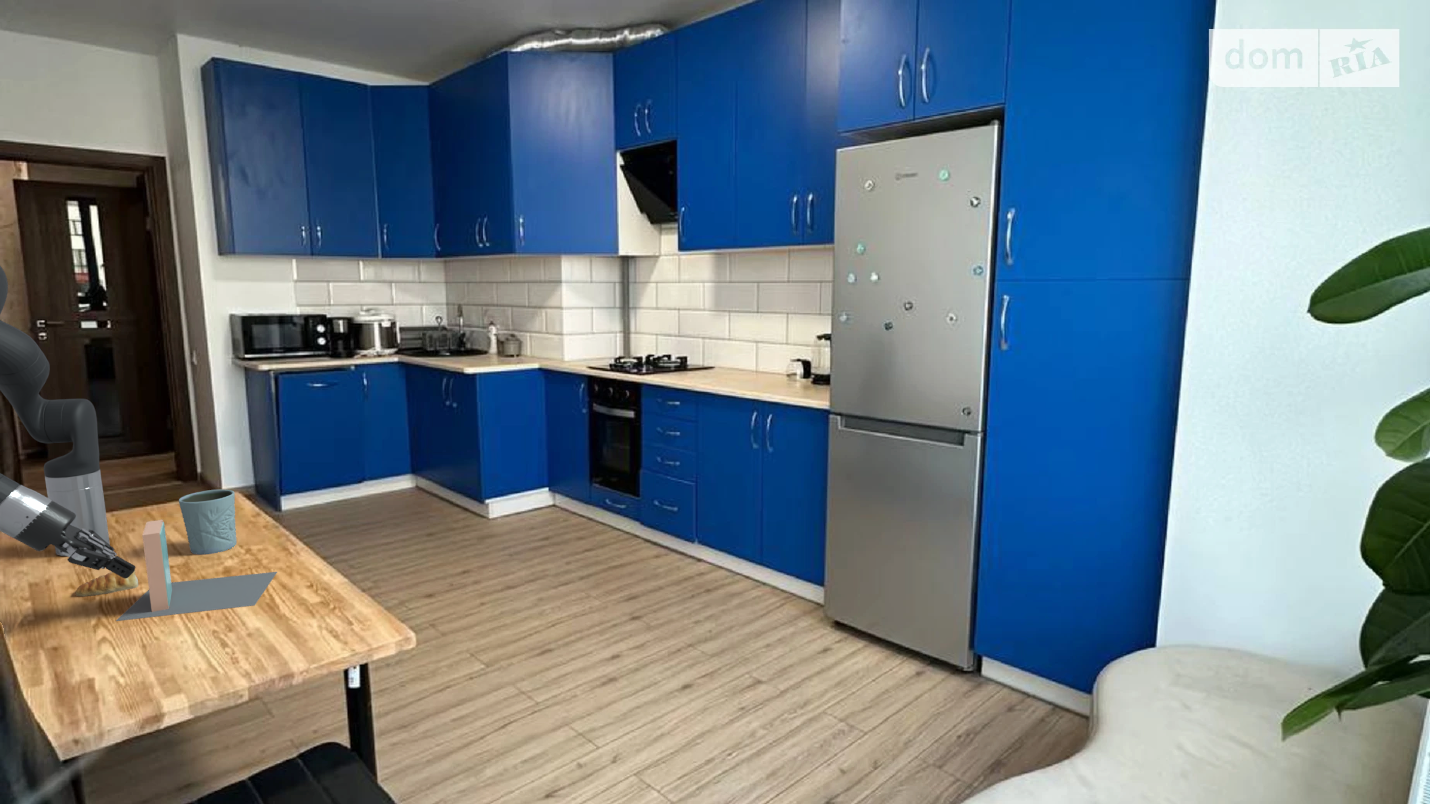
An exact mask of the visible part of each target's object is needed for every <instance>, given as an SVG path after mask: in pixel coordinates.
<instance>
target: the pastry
mask: <svg viewBox="0 0 1430 804" xmlns="http://www.w3.org/2000/svg"><path fill="white" fill-rule="evenodd" d="M137 588H139V580H138V577H137V576H136V570H135V571H134V572H133V573H132V574H131V575H130V576H129V577H128V578H122V577H121V576H119V575H117V574H115V573H113V572H111V571H109V572H108V573H106V574H103V575H99V576H98V577H96V578H93V579H92V578H91V580H89V581H87V582H83V583H82V584H81V585H79V586H78V587H77V588H76V590H75V596H77V597H82V598H83V597H92V596H100V595H107V594H112V593H118V592H121V591H126V590H130V589H131V590H132V589H137Z"/></svg>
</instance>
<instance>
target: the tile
mask: <svg viewBox="0 0 1430 804" xmlns="http://www.w3.org/2000/svg"><path fill="white" fill-rule="evenodd" d="M141 535H142V542H143V543H142V544H143V551H144V559H145V567H146V575H147V584H148V590H149V593H150V601H151V609H152V612H155V611H160V610H165V609H169V606H170V600H171V594H172V585H171V583H172V576H171V569H170V561H169V552H168V543H167V537H166V535H167V534H166V529H165V522H164V520H163V519H158V520H151V521H146V523H145V527H144V528H143V532H142V534H141Z"/></svg>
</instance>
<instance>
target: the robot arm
mask: <svg viewBox="0 0 1430 804" xmlns="http://www.w3.org/2000/svg"><path fill="white" fill-rule="evenodd" d="M8 282H9V281H8V278H7V275H6V272H5V271H4V269H3V267H2V266H1V265H0V315H1V314H2V312H3V309H4V306H5V303H6V301H7V297H8V293H9V292H8V291H9V284H8ZM50 366H51V365H50V362H49V360H48V359H47V357H46V355H45V353H44V351H42V350H41V348H40V346H39V345H38V344H37V342H36V341H35V340H34V339H33V338H32V337H31V336H30V335H28V334H27V333H26V332H24V331H22V330H20V329H19V328H17V327H15V326H13V325H11V324H9V323H7V322H5V321H3V320H1V319H0V392H1V393H2V394H3V396H4V397H5V398H6V399H7V400H8V402H9V404H10V405H11V406H12V408H13V409H14V411H15V413H16V415H17V416H18V418H19V419H20V421H21V423H22V425H23V426H24V428H25V430H27V432H28V434H29V435H30V436H31V437H32V439H34V440H35V441H37V442H39V443H42V444H58V443H59V444H60V443H72V444H73V445H72V450H71V451H69V452H68V453H66V454H64V455H62V456H58V457H55V458H53V459H51V460H48V461H46V462H45V463H44V466H43V472H44V480H45V487H46V494H47V496H45V495H44V494H41V493H39V492H38V491H36V490H33V489H31V488H28V487H26V486H24V485H23V484H20V483H18V482H16V481H15V480H13V479H12V478H9V477H8V476H6V475H4V474H3V473H1V472H0V532H1V533H3V534H4V535H7V536H9V537H10V538H13V539H14V540H16V541H18V542H20V543H22V544H24V545H25V546H27V547H29V548H31V549H33V550H34V551H36V552H42V551H45V549H47V548H48V547H49V546H51V545H52V546H54V550H55V554H56V555H57V556H63V557H68V558H67V560H66V561H67V562H68V563H70V564H73V565H77V566H81V567H85V568H89V569H93V570H96V571H100V570H101V569H102V570H104V569H106V570H108V571H109V572H113V573H115V574H117V575H119V576H121V577H122V578H128V577H129V576H130V575H131V574H132V573H133V572H134V571H135V572H136V565H135V564H133V563H131V562H129V561H127V560H125V559H123V558H122V557H120V556H118V555H117V553H116V552H115V548H114V547H113V546H111V545H110V543H111V542H110V535H109V528H108V521H107V513H106V512H107V511H106V503H105V497H104V489H103V482H102V475H101V474H102V473H101V467H100V448H99V436H98V433H99V432H98V417H97V412H96V409H95V406H94V404H93V403H92V402H91V401H90V400H88V399H86V398H66V399H65V398H63V399H62V398H61V399H46V398H43V397H42V396H41V395H40V392H41V390H42V389H43V387H44V385H45V383H46V382H47V380H48V378H49V375H50Z"/></svg>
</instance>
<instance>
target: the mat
mask: <svg viewBox="0 0 1430 804" xmlns="http://www.w3.org/2000/svg"><path fill="white" fill-rule="evenodd" d="M277 573H278V571H271V572H262V573H260V572H259V573H252V574H241V575H233V576H224V577H213V578H212V577H211V578H202V579H193V580H192V579H191V580H182V581H173V582H172V581H171V585H172V594H171V600H170V606H169V609H165V610H160V611H155V612H152V609H151V601H150V593H149V589H148V590H147V591H146V592H145V593H143V594H142V595H141V597H139V598H138V599H137V600H136V601H135V602H134V603H133V604H132V605H131V606H130V607H129V608H127V609H126V611H125V612H123V613H122V614H121V615H120V616H119V617H118V618H117V619H116V620H115V622H121V621H128V620H139V619H145V618H146V619H148V618H156V617H165V616H172V615H173V616H174V615H184V614H190V613H191V614H192V613H200V612H201V613H202V612H208V611H209V612H211V611H218V610H226V609H227V610H228V609H234V608H236V609H237V608H246V607H253V606H256V604H257V603H258V601H259V600H260V599H261V597H262V595H263V594H264V593H265V591H266V589H267V588H268V587H269V585H270V583H271V582H272V580H274V578H275V576H276V575H277Z"/></svg>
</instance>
